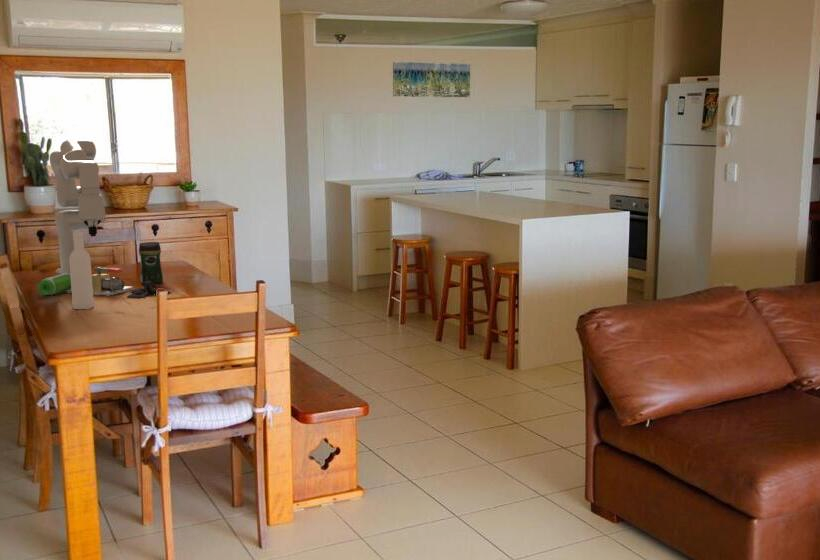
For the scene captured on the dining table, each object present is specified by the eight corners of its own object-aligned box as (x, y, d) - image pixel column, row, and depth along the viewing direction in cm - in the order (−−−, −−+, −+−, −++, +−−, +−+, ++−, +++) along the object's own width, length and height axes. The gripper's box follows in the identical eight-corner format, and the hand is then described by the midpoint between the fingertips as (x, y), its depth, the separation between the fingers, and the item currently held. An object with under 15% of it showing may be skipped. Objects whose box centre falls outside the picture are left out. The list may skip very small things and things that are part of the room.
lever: (92, 274, 376) (92, 267, 375) (99, 273, 379) (98, 266, 378) (117, 276, 369) (116, 269, 368) (123, 275, 372) (123, 268, 372)
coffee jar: (162, 280, 402) (160, 240, 399) (163, 283, 395) (161, 242, 392) (140, 282, 399) (138, 241, 396) (140, 285, 392) (138, 243, 389)
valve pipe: (66, 293, 374) (65, 276, 373) (91, 286, 389) (90, 270, 388) (110, 296, 366) (109, 279, 365) (134, 289, 381) (133, 273, 380)
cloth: (126, 301, 359) (125, 286, 358) (123, 293, 376) (122, 279, 375) (182, 297, 367) (181, 282, 366) (176, 289, 384) (176, 275, 383)
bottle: (68, 308, 342) (62, 232, 337) (85, 305, 349) (80, 229, 344) (81, 310, 338) (75, 233, 333) (98, 307, 344) (93, 231, 339)
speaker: (62, 288, 385) (60, 271, 384) (77, 289, 384) (75, 272, 382) (37, 296, 368) (36, 278, 367) (53, 297, 367) (52, 279, 365)
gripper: (72, 193, 356) (75, 238, 359) (110, 191, 363) (113, 235, 366) (69, 192, 362) (72, 236, 365) (106, 190, 370) (109, 233, 373)
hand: (93, 236), depth 366 cm, fingers closed
